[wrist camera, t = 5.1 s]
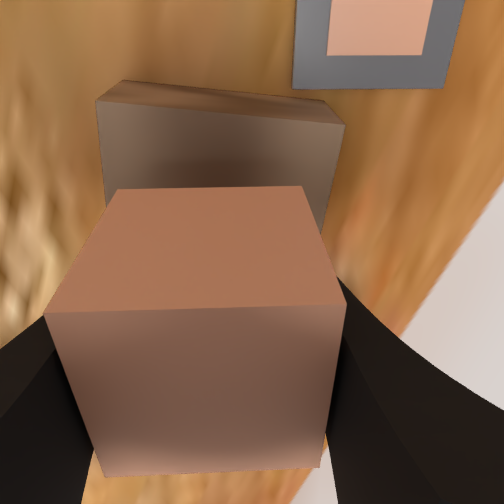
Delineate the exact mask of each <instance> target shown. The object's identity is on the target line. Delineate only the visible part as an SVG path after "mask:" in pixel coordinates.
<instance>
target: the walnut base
mask: <svg viewBox="0 0 504 504" xmlns="http://www.w3.org/2000/svg"><path fill="white" fill-rule="evenodd" d="M95 103H96V113H97V123H98V132H99V142H100V152H101V161H102V171H103V181H104V191H105V200H106V207H107V206H108V204H109V203H110V201H111V199H112V198H113V196H114V194H115V193H116V191H117V189H158V188H212V187H266V186H302V188H303V190H304V193H305V196H306V198H307V201H308V203H309V206H310V209H311V211H312V214H313V217H314V219H315V222H316V224H317V227H318V230H319V232H320V235H321V231H322V227H323V222H324V218H325V213H326V209H327V205H328V200H329V196H330V192H331V187H332V183H333V179H334V174H335V170H336V165H337V161H338V157H339V152H340V148H341V144H342V139H343V135H344V131H345V126H346V125H345V124H344V123H343V121H342V120H341V119H340V118H339V117H338V116H337V115H336V114H335V113H334V112H333V111H332V109H331V108H330V107H329V106H328V105H327V104H326V103H325V102H324V101H322V100H312V99H302V98H293V97H283V96H273V95H264V94H254V93H244V92H234V91H225V90H215V89H205V88H196V87H186V86H176V85H166V84H157V83H147V82H137V81H127V80H122V81H121V82H119V83H118V84H117V85H115V86H114V87H113V88H111V89H110V90H109V91H107V92H106V93H105V94H103V95H102V96H101V97H100V98H98V99H97V100H96V101H95Z"/></svg>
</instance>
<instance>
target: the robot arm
mask: <svg viewBox="0 0 504 504" xmlns="http://www.w3.org/2000/svg"><path fill="white" fill-rule="evenodd" d="M336 277H337V276H336ZM337 279H338V282H339V285H340V287H341V290H342V293H343V295H344V298H345V300H346V303H347V306H346V312H345V318H344V324H343V330H342V336H341V342H340V348H339V354H338V360H337V366H336V372H335V378H334V384H333V390H332V396H331V402H330V408H329V414H328V420H327V426H326V432H325V433H326V437H327V442H328V446H329V452H330V457H331V463H332V469H333V475H334V480H335V487H336V492H337V499H338V504H504V410H502V409H500V408H498V407H497V406H495V405H494V404H492V403H490V402H489V401H487V400H485V399H484V398H482V397H480V396H479V395H477V394H475V393H474V392H472V391H471V390H469V389H467V388H466V387H465V386H463V385H462V384H460V383H459V382H457V381H455V380H454V379H452V378H451V377H449V376H448V375H447V374H445V373H444V372H442V371H441V370H439V369H438V368H436V367H435V366H434V365H432V364H431V363H430V362H428V361H427V360H426V359H425V358H423V357H422V356H420V355H419V354H418V353H416V352H415V351H414V350H412V349H411V348H410V347H409V346H408V345H406V344H405V343H404V342H403V341H402V340H400V339H399V338H398V337H397V336H396V335H395V334H394V333H392V332H391V331H390V330H389V329H388V328H387V327H386V326H385V325H383V324H382V323H381V322H380V321H379V320H378V319H377V318H376V317H375V316H374V315H373V314H372V313H371V312H370V311H369V310H368V309H367V308H366V307H365V306H364V305H363V304H362V303H361V302H360V301H359V300H358V299H357V298H356V297H355V296H354V295H353V293H352V292H351V291H350V290H349V289H348V288H347V287H346V286H345V285H344V284H343V283H342V281H341V280H340V279H339V278H338V277H337ZM93 451H94V447H93V445H92V442H91V439H90V437H89V434H88V431H87V429H86V426H85V423H84V421H83V418H82V415H81V413H80V410H79V408H78V405H77V402H76V400H75V397H74V394H73V392H72V389H71V386H70V384H69V381H68V378H67V376H66V373H65V370H64V368H63V365H62V363H61V360H60V357H59V355H58V352H57V349H56V347H55V344H54V341H53V339H52V336H51V333H50V331H49V328H48V325H47V323H46V320H45V317H44V315H43V316H42V317H40V318H39V319H38V320H37V321H36V322H34V323H33V324H32V325H30V326H29V327H28V328H27V329H25V330H24V331H23V332H22V333H20V334H19V335H18V336H17V337H15V338H14V339H13V340H11V341H10V342H9V343H8V344H6V345H5V346H4V347H3V348H1V349H0V504H81V501H82V497H83V492H84V488H85V484H86V479H87V475H88V470H89V466H90V462H91V458H92V454H93Z"/></svg>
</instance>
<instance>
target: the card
mask: <svg viewBox="0 0 504 504" xmlns="http://www.w3.org/2000/svg"><path fill="white" fill-rule="evenodd" d="M464 2H465V0H296V5H295V24H294V43H293V62H292V81H291V88H292V89H434V88H443V87H444V83H445V79H446V75H447V71H448V67H449V63H450V59H451V55H452V50H453V46H454V42H455V38H456V34H457V30H458V26H459V22H460V18H461V14H462V10H463V6H464Z"/></svg>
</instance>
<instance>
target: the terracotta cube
mask: <svg viewBox="0 0 504 504" xmlns="http://www.w3.org/2000/svg"><path fill="white" fill-rule="evenodd" d="M346 306H347V303H346V300H345V298H344V295H343V293H342V290H341V287H340V285H339V282H338V279H337V277H336V274H335V272H334V269H333V266H332V264H331V261H330V258H329V256H328V253H327V251H326V248H325V245H324V243H323V240H322V238H321V235H320V232H319V230H318V227H317V224H316V222H315V219H314V217H313V214H312V211H311V209H310V206H309V203H308V201H307V198H306V196H305V193H304V190H303V188H302V186H266V187H212V188H158V189H117V191H116V193H115V194H114V196H113V198H112V199H111V201H110V203H109V204H108V206H107V207H106V209H105V211H104V212H103V214H102V216H101V217H100V219H99V221H98V222H97V224H96V226H95V227H94V229H93V231H92V232H91V234H90V236H89V237H88V239H87V241H86V242H85V244H84V246H83V247H82V249H81V251H80V252H79V254H78V256H77V257H76V259H75V261H74V262H73V264H72V266H71V267H70V269H69V271H68V272H67V274H66V276H65V277H64V279H63V281H62V282H61V284H60V286H59V287H58V289H57V291H56V292H55V294H54V295H53V297H52V299H51V300H50V302H49V304H48V305H47V307H46V309H45V310H44V312H43V315H44V317H45V320H46V323H47V325H48V328H49V331H50V333H51V336H52V339H53V341H54V344H55V347H56V349H57V352H58V355H59V357H60V360H61V363H62V365H63V368H64V370H65V373H66V376H67V378H68V381H69V384H70V386H71V389H72V392H73V394H74V397H75V400H76V402H77V405H78V408H79V410H80V413H81V415H82V418H83V421H84V423H85V426H86V429H87V431H88V434H89V437H90V439H91V442H92V445H93V447H94V450H95V453H96V455H97V458H98V461H99V463H100V466H101V468H102V471H103V474H104V476H105V477H124V476H146V475H168V474H190V473H212V472H234V471H256V470H278V469H300V468H319V467H320V462H321V456H322V450H323V444H324V438H325V432H326V426H327V420H328V414H329V408H330V402H331V396H332V390H333V384H334V378H335V372H336V366H337V360H338V354H339V348H340V342H341V336H342V330H343V324H344V318H345V312H346Z"/></svg>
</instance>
